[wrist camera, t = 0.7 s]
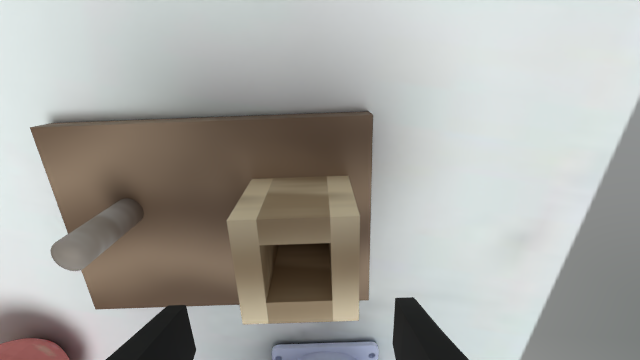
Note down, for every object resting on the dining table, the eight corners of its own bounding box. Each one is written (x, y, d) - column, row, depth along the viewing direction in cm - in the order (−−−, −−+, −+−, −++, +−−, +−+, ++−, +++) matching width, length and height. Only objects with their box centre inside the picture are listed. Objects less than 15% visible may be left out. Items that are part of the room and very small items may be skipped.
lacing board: (365, 285, 21) (382, 362, 16) (110, 293, 21) (35, 373, 16) (368, 111, 17) (393, 131, 12) (53, 122, 17) (-75, 148, 12)
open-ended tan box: (348, 257, 19) (358, 320, 14) (261, 260, 19) (242, 324, 14) (348, 175, 17) (359, 216, 12) (251, 178, 17) (226, 220, 12)
